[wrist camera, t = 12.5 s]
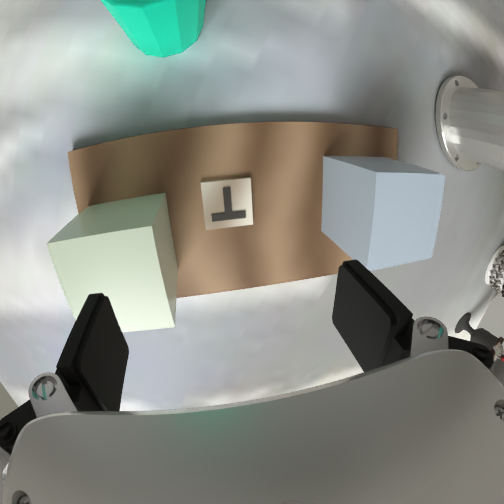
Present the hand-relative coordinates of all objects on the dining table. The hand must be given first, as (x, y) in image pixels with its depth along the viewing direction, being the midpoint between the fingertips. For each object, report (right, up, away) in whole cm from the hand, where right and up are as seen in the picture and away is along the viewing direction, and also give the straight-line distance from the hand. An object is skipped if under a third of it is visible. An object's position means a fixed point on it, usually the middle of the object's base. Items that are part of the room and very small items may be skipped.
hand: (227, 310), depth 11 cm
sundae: (+43, -12, +32) cm, 55 cm away
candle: (-6, +21, +6) cm, 22 cm away
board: (+1, +6, +14) cm, 15 cm away
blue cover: (+11, +8, +14) cm, 19 cm away
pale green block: (-9, +3, +12) cm, 15 cm away
